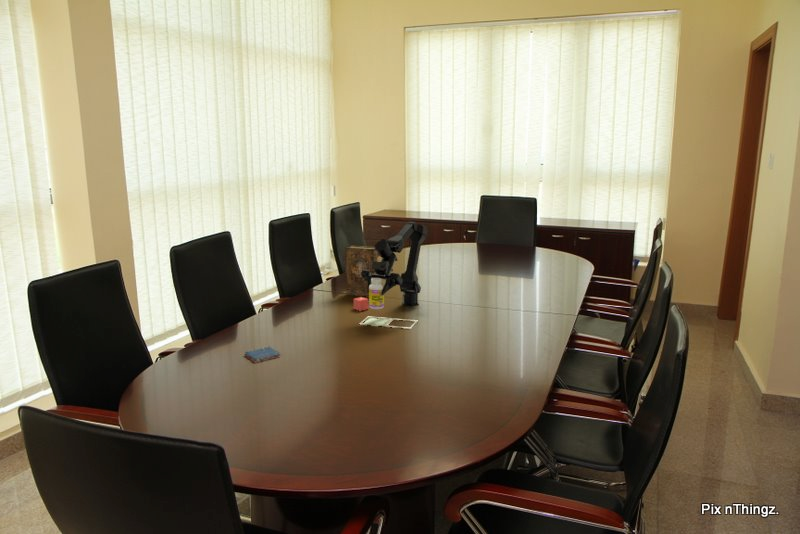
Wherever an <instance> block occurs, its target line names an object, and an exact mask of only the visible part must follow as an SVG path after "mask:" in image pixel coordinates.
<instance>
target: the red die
mask: <svg viewBox="0 0 800 534" xmlns="http://www.w3.org/2000/svg"><path fill="white" fill-rule="evenodd" d="M369 308H370V307H369V298H368V297H362V296H359V297H356V298H353V310H355V309H356V310H355V311H358V310H359V311H358V312H363V311H367V310H366V309H368V310H369ZM362 310H363V311H362Z"/></svg>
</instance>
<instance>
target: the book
mask: <svg viewBox="0 0 800 534" xmlns="http://www.w3.org/2000/svg"><path fill="white" fill-rule="evenodd" d="M344 250H345V251H344V253H345V256H344V257H345V258H344V259H345V294H346V295H347V296H353V295H355V296H356V297H362V296H366V297H365V298H369V293H368V292H367V281H365V280H364V279H363V277H362V276H361V275H360V274H361V271H362V270H370V271H371V272H372V274H376V272H375V271H374V270H375V269H373V268H371V266H372V261H377V262H379V260H378V252H377V251H376V249H375V246H363V245H350V246H349V247H348V246H346V247H345V248H344ZM355 296H354V297H355Z"/></svg>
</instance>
